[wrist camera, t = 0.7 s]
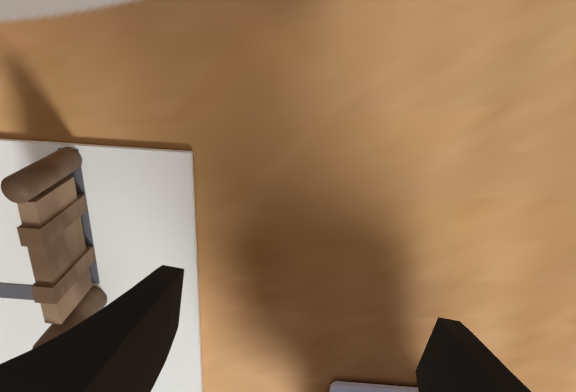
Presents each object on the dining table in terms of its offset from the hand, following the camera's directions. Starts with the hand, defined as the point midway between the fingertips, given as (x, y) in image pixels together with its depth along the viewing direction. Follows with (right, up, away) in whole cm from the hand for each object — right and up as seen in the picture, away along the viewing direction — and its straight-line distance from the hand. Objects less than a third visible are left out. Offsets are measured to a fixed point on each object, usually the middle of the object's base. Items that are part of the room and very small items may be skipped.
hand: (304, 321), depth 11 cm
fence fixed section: (-11, +1, +10) cm, 15 cm away
